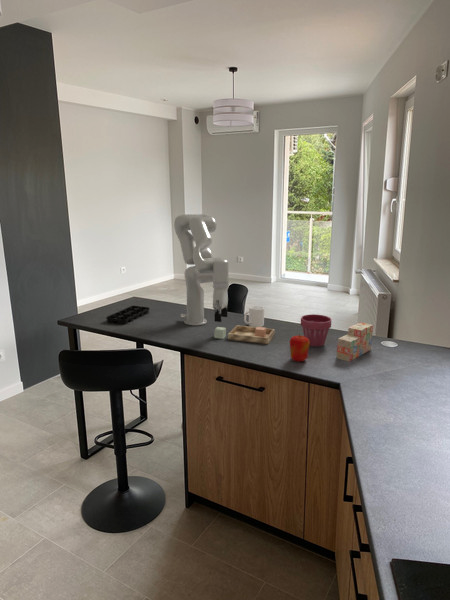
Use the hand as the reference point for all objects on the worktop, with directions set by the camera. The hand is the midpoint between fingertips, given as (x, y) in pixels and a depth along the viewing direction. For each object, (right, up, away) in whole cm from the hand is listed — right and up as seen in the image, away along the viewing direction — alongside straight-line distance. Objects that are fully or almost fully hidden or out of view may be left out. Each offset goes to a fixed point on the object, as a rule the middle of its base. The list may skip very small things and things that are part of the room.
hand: (221, 319), depth 210 cm
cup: (+17, -5, +22) cm, 28 cm away
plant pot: (+45, -12, -5) cm, 47 cm away
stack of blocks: (+60, -15, -18) cm, 65 cm away
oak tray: (+15, -9, +3) cm, 18 cm away
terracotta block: (+20, -9, +2) cm, 22 cm away
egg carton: (-54, -1, +36) cm, 64 cm away
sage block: (-1, -9, +3) cm, 10 cm away
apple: (+34, -17, -26) cm, 46 cm away
